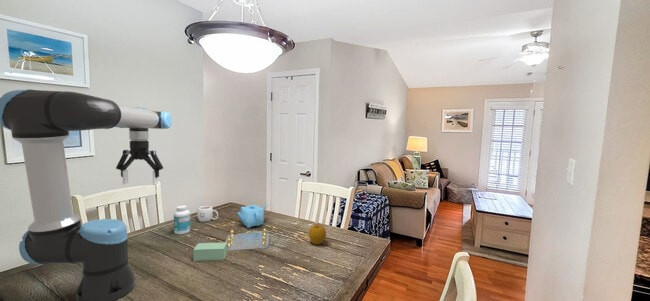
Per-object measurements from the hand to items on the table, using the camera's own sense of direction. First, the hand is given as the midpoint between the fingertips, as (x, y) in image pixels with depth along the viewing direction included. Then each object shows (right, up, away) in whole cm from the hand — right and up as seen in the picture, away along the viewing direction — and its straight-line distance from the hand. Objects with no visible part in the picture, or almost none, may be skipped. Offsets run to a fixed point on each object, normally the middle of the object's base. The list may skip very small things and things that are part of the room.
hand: (140, 184), depth 129 cm
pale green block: (+41, -29, -16) cm, 53 cm away
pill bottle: (+16, -26, +9) cm, 32 cm away
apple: (+86, -29, 0) cm, 90 cm away
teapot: (+49, -26, +21) cm, 59 cm away
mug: (+21, -25, +26) cm, 42 cm away
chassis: (+52, -28, -1) cm, 59 cm away
